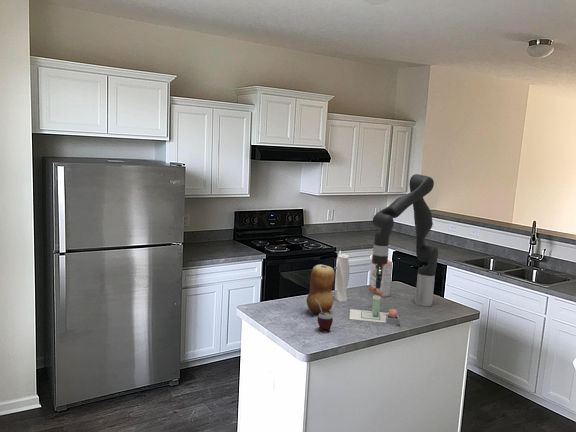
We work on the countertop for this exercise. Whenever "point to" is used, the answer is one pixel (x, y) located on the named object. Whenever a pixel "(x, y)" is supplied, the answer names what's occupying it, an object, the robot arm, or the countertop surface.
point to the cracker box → (385, 282)
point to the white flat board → (368, 316)
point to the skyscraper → (342, 277)
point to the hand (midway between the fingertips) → (377, 286)
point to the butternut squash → (321, 289)
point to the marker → (376, 305)
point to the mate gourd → (324, 320)
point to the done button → (393, 313)
